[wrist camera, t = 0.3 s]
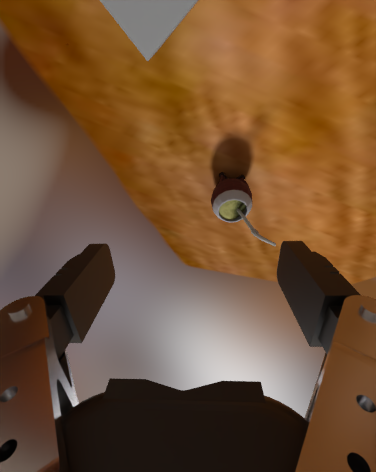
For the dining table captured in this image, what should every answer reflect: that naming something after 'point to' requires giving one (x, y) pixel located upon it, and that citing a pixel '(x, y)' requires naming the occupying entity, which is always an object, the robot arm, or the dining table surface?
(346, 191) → the dining table surface
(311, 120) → the dining table surface
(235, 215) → the mate gourd
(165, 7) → the socket block
